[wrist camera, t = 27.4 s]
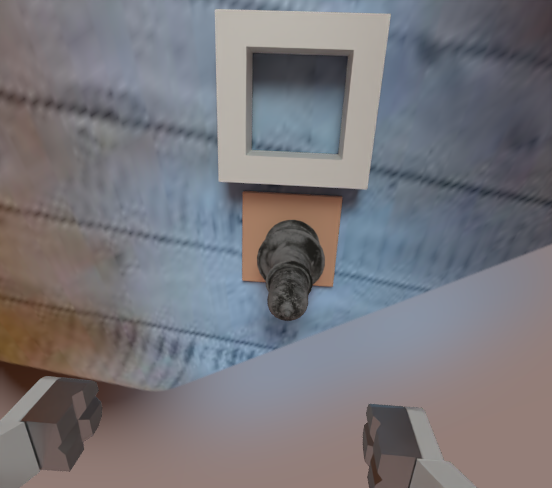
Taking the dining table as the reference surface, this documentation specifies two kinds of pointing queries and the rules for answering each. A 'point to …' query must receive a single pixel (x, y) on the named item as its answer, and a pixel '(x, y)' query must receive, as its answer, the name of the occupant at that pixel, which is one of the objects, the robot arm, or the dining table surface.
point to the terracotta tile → (287, 206)
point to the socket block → (305, 41)
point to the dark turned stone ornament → (290, 267)
